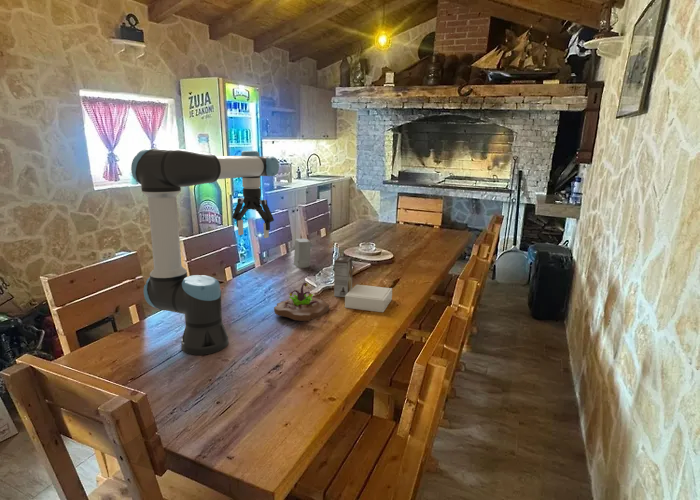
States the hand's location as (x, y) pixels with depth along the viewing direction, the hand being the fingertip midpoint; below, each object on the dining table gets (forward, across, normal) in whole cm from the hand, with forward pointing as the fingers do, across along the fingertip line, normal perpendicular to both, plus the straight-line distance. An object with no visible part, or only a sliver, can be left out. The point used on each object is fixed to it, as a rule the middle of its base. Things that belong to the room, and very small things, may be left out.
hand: (253, 236), depth 186 cm
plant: (+25, -32, +13) cm, 43 cm away
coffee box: (+25, -38, -12) cm, 47 cm away
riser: (+25, -53, -6) cm, 59 cm away
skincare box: (+25, -1, -40) cm, 47 cm away
